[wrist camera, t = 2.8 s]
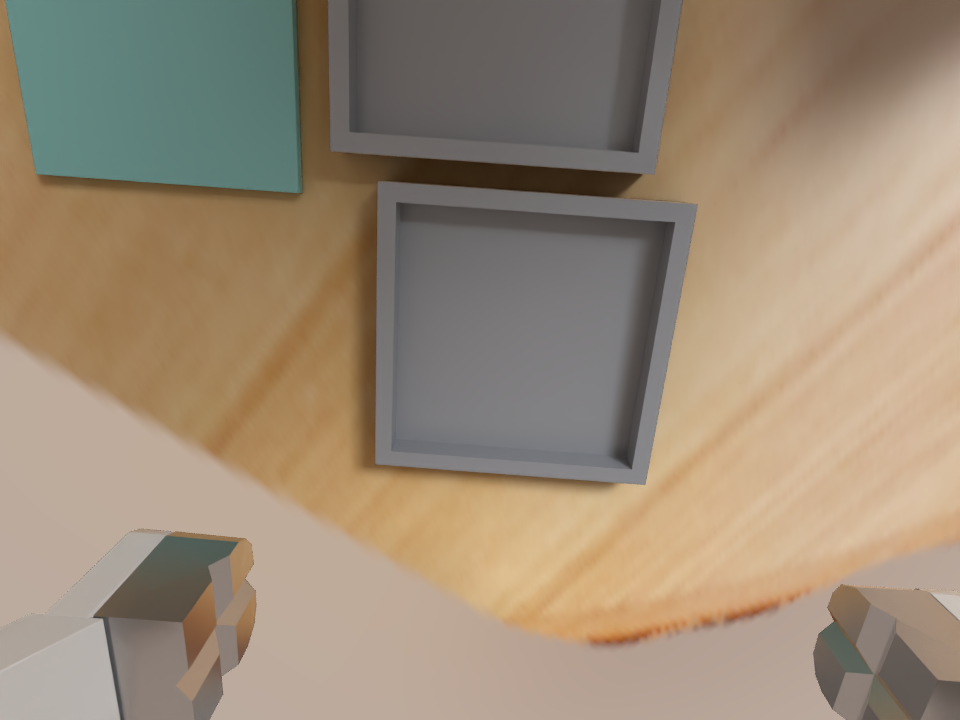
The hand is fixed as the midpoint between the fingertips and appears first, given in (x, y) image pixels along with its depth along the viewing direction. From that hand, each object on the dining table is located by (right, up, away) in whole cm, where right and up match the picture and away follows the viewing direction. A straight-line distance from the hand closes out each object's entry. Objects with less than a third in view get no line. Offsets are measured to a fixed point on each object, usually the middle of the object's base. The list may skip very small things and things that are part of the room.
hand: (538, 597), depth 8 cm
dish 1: (0, +15, +9) cm, 17 cm away
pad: (-11, +14, +10) cm, 20 cm away
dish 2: (+1, +4, +13) cm, 14 cm away
